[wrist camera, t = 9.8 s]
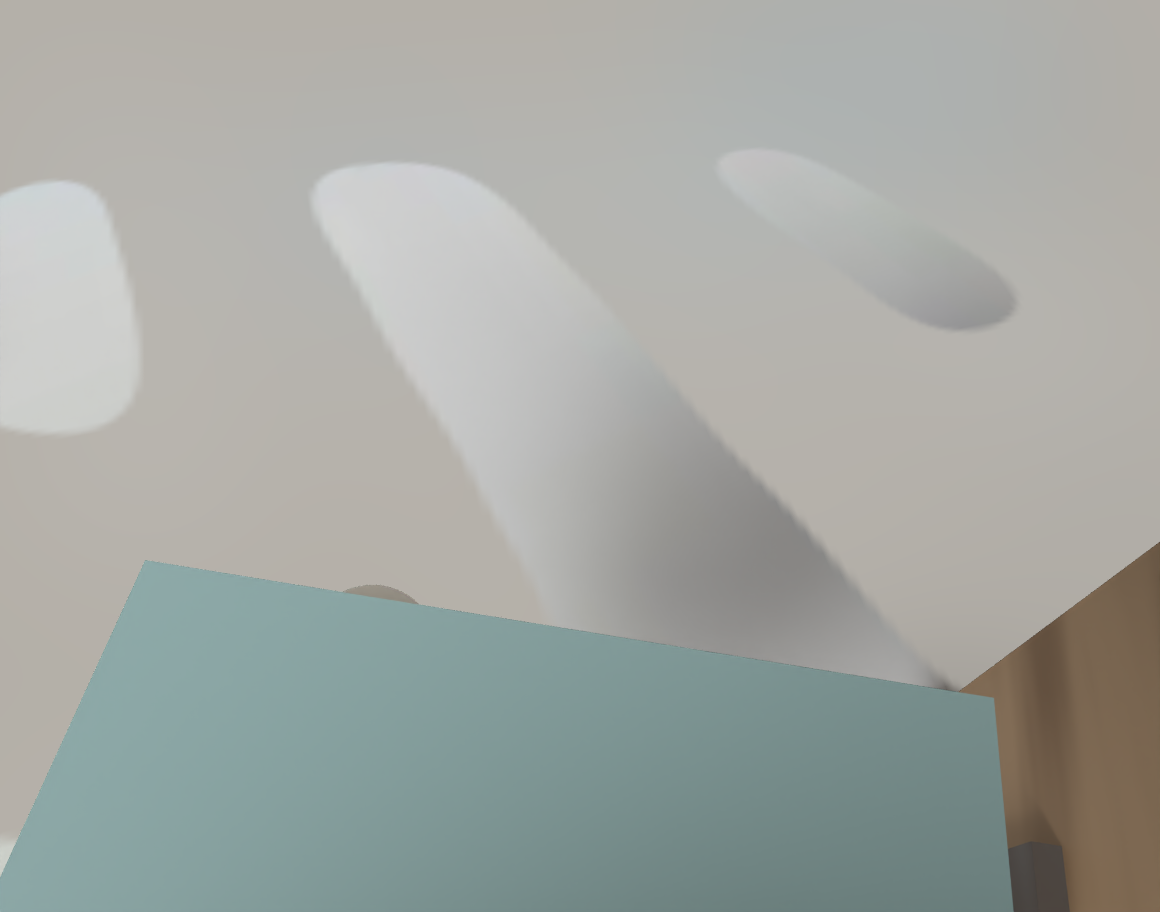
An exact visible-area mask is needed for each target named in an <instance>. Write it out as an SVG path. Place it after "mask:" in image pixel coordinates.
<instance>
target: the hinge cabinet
mask: <svg viewBox="0 0 1160 912" xmlns="http://www.w3.org/2000/svg"><path fill="white" fill-rule="evenodd" d="M959 692H961V693H967V694H973V695H979V696H986V697H992V698H994V705H995V715H996V726H997V737H998V748H999V759H1000V770H1001V781H1002V791H1003V802H1004V813H1005V824H1006V835H1007V846H1008V857H1009V867H1010V878H1011V889H1012V900H1013V911H1014V912H1160V542H1159V543H1158V544H1156V545H1155V546H1154V547H1152V548H1151V549H1150V550H1148V551H1147V552H1146V553H1144V554H1143V555H1142V556H1140V557H1139V558H1138V559H1136V560H1135V561H1133V562H1132V563H1131V564H1129V565H1128V566H1127V567H1126V568H1124V569H1123V570H1122V571H1120V572H1119V573H1117V574H1116V575H1115V576H1113V577H1112V578H1111V579H1109V580H1108V581H1107V582H1105V583H1104V584H1103V585H1101V586H1100V587H1099V588H1097V589H1096V590H1095V591H1093V592H1092V593H1091V594H1089V595H1088V596H1086V597H1085V598H1084V599H1082V600H1081V601H1080V602H1078V603H1077V604H1076V605H1074V606H1073V607H1072V608H1070V609H1069V610H1068V611H1066V612H1065V613H1064V614H1062V615H1061V616H1060V617H1058V618H1057V619H1056V620H1054V621H1053V622H1052V623H1051V624H1049V625H1048V626H1046V627H1045V628H1044V629H1042V630H1041V631H1039V632H1038V633H1037V634H1036V635H1034V636H1033V637H1031V638H1030V639H1029V640H1027V641H1026V642H1025V643H1023V644H1022V645H1021V646H1019V647H1018V648H1017V649H1015V650H1014V651H1013V652H1011V653H1010V654H1009V655H1007V656H1006V657H1005V658H1003V659H1002V660H1000V661H999V662H998V663H996V664H995V665H994V666H993V667H991V668H990V669H988V670H987V671H986V672H984V673H983V674H982V675H980V676H979V677H978V678H976V679H975V680H974V681H972V682H971V683H970V684H968V685H967V686H966V687H964V688H963V689H962V690H960V691H959Z"/></svg>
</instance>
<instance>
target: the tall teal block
mask: <svg viewBox="0 0 1160 912" xmlns="http://www.w3.org/2000/svg"><path fill="white" fill-rule="evenodd" d="M0 912H1014V911H1013V900H1012V889H1011V878H1010V867H1009V857H1008V846H1007V835H1006V824H1005V813H1004V802H1003V791H1002V781H1001V770H1000V759H999V748H998V737H997V726H996V715H995V705H994V698H992V697H986V696H979V695H973V694H967V693H961V692H955V691H949V690H942V689H936V688H930V687H924V686H918V685H912V684H905V683H899V682H893V681H887V680H881V679H875V678H868V677H862V676H856V675H850V674H844V673H838V672H831V671H825V670H819V669H813V668H807V667H801V666H795V665H788V664H782V663H776V662H770V661H764V660H758V659H751V658H745V657H739V656H733V655H727V654H721V653H714V652H708V651H702V650H696V649H690V648H684V647H677V646H671V645H665V644H659V643H653V642H647V641H640V640H634V639H628V638H622V637H616V636H610V635H603V634H597V633H591V632H585V631H579V630H573V629H566V628H560V627H554V626H548V625H542V624H536V623H529V622H523V621H517V620H511V619H504V618H499V617H492V616H486V615H480V614H474V613H468V612H461V611H455V610H449V609H443V608H436V607H431V606H425V605H419V604H418V603H417V602H416V601H415V600H414V599H413V598H411V597H410V596H408V595H407V594H405V593H403V592H401V591H399V590H396V589H393V588H391V587H386V586H380V585H365V586H358V587H354V588H351V589H348V590H346V591H343V592H338V591H332V590H326V589H320V588H314V587H307V586H300V585H295V584H289V583H282V582H277V581H270V580H264V579H258V578H252V577H246V576H240V575H233V574H227V573H221V572H215V571H209V570H202V569H197V568H190V567H184V566H178V565H171V564H165V563H159V562H153V561H147V560H145V562H144V564H143V566H142V569H141V571H140V573H139V575H138V577H137V580H136V582H135V584H134V586H133V588H132V591H131V593H130V595H129V597H128V599H127V601H126V604H125V606H124V608H123V610H122V612H121V614H120V617H119V619H118V621H117V623H116V626H115V628H114V630H113V632H112V634H111V636H110V639H109V641H108V643H107V645H106V647H105V649H104V652H103V654H102V656H101V658H100V660H99V663H98V665H97V667H96V669H95V671H94V673H93V676H92V678H91V680H90V682H89V685H88V687H87V689H86V691H85V693H84V695H83V698H82V700H81V702H80V704H79V706H78V709H77V711H76V713H75V715H74V717H73V719H72V722H71V724H70V726H69V728H68V730H67V733H66V735H65V737H64V739H63V741H62V744H61V746H60V748H59V750H58V752H57V755H56V757H55V759H54V761H53V763H52V765H51V768H50V770H49V772H48V774H47V776H46V778H45V781H44V783H43V785H42V787H41V789H40V792H39V794H38V796H37V798H36V800H35V803H34V805H33V807H32V809H31V811H30V814H29V816H28V818H27V820H26V822H25V824H24V827H23V829H22V831H21V833H20V835H19V837H18V840H17V842H16V844H15V846H14V848H13V851H12V853H11V855H10V857H9V859H8V862H7V864H6V866H5V868H4V870H3V872H2V875H1V877H0Z"/></svg>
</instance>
